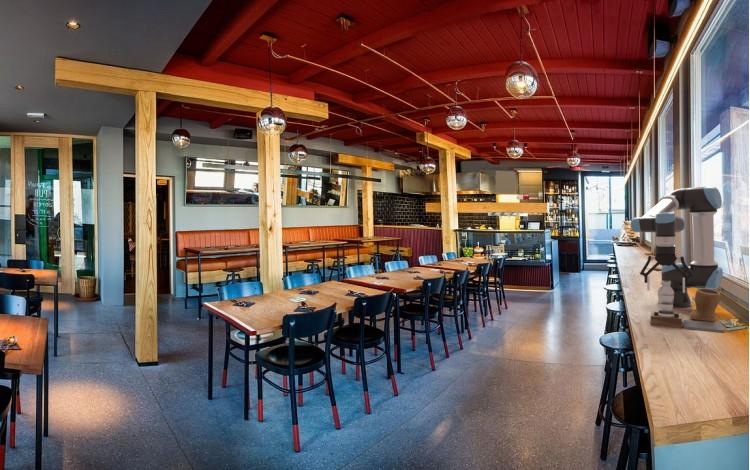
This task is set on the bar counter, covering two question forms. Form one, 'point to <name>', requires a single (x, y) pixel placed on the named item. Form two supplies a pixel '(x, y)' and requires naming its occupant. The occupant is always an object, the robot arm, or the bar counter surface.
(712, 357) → the bar counter surface
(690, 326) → the slate plate
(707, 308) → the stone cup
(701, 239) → the robot arm
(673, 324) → the walnut holder
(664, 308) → the plastic bottle
